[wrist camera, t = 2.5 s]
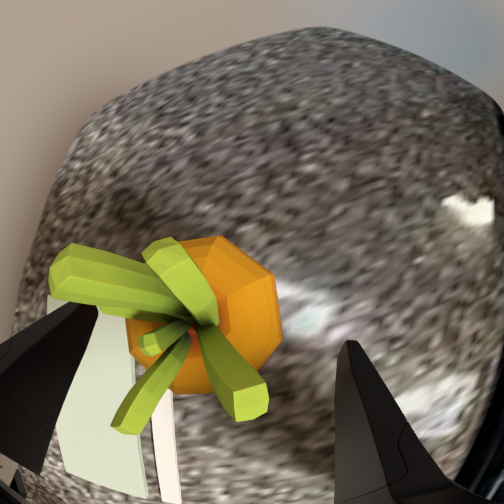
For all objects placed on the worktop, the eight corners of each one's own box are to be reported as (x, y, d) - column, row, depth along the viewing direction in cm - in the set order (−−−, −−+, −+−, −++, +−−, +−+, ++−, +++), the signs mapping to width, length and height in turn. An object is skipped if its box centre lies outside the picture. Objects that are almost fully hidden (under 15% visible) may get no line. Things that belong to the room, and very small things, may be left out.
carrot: (290, 328, 18) (382, 391, 3) (221, 366, 17) (93, 503, 3) (250, 260, 19) (198, 96, 4) (184, 298, 18) (-14, 254, 4)
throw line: (182, 502, 15) (180, 504, 15) (163, 498, 15) (162, 501, 15) (171, 304, 18) (169, 304, 18) (151, 303, 18) (148, 303, 18)
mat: (148, 495, 15) (146, 498, 15) (69, 469, 16) (66, 471, 15) (134, 302, 19) (130, 301, 18) (52, 295, 19) (47, 294, 18)
